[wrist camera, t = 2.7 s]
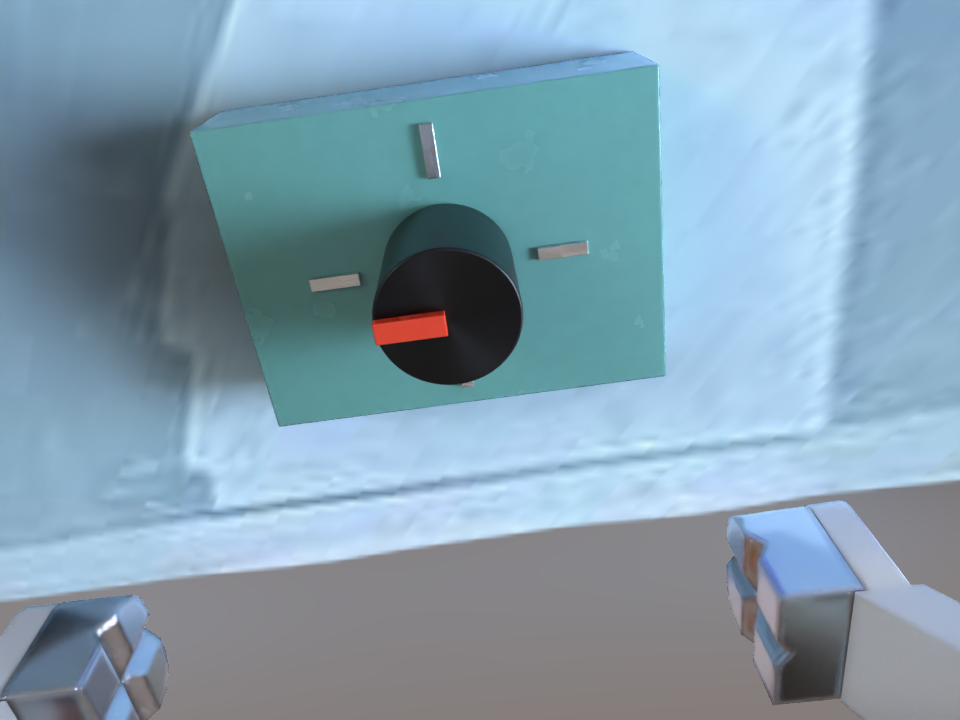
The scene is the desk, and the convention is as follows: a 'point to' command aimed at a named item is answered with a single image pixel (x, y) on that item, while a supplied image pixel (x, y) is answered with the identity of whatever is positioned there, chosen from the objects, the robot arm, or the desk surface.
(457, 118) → the dial panel
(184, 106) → the desk surface
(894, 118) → the desk surface
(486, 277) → the dial
